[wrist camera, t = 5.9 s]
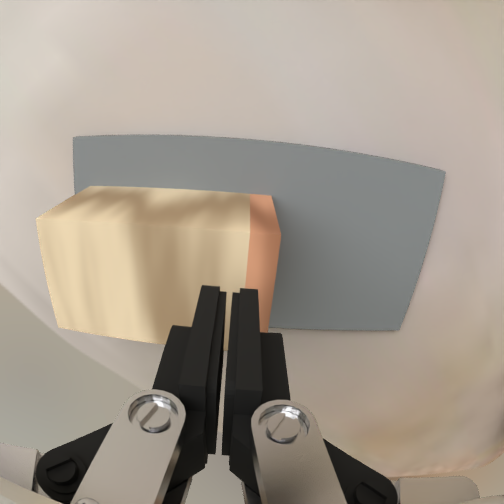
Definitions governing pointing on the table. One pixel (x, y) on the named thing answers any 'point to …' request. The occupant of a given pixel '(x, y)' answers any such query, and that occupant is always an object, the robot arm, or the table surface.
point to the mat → (299, 216)
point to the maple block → (155, 257)
